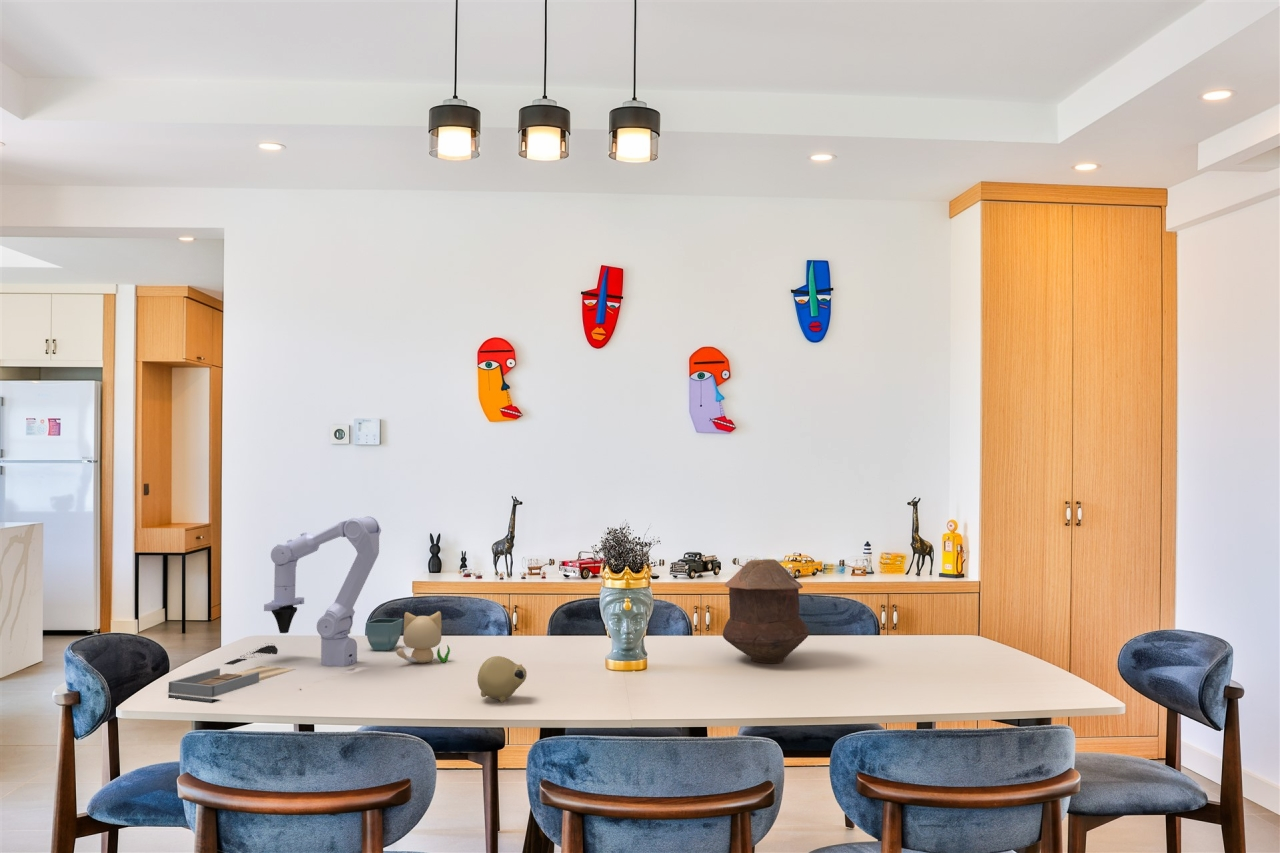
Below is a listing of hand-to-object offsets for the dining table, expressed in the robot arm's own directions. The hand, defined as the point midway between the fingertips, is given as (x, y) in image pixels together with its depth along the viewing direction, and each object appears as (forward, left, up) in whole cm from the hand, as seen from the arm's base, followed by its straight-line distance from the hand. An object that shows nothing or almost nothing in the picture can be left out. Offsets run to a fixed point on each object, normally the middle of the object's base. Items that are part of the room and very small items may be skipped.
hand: (284, 632), depth 256 cm
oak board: (-5, +16, -9) cm, 19 cm away
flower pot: (-14, -29, -10) cm, 34 cm away
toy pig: (-77, +13, -10) cm, 79 cm away
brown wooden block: (-5, +27, -9) cm, 29 cm away
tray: (-5, +31, -9) cm, 33 cm away
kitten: (-36, -17, -10) cm, 41 cm away
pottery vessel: (-131, -52, -10) cm, 141 cm away
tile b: (-6, +33, -9) cm, 35 cm away
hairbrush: (+12, +1, -10) cm, 16 cm away
